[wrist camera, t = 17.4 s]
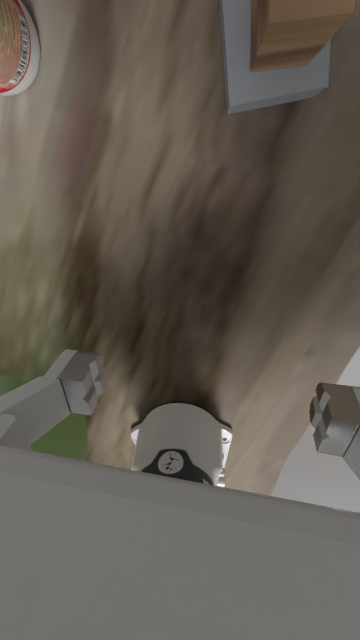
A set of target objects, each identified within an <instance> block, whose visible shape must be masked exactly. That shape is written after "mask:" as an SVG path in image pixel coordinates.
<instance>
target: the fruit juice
mask: <svg viewBox="0 0 360 640" xmlns="http://www.w3.org/2000/svg"><path fill="white" fill-rule="evenodd" d="M39 64H40V44H39V38H38V34H37V30H36V27H35V25H34V22H33V20H32V18H31V16H30V14H29V12H28V10H27V9H26V7H25V6H24V4H23V3H22V2H21V0H0V96H13V95H17V94H20V93H22V92H23V91H25V90H26V89H27V88H28V87H29V86H30V85H31V84H32V82H33V81H34V79H35V77H36V75H37V72H38V69H39Z"/></svg>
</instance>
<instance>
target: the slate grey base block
mask: <svg viewBox="0 0 360 640" xmlns="http://www.w3.org/2000/svg"><path fill="white" fill-rule="evenodd" d="M251 6H252V0H219V11H220V25H221V39H222V53H223V67H224V81H225V95H226V109H227V115H228V114H233V113H238V112H243V111H248V110H253V109H258V108H263V107H268V106H273V105H278V104H283V103H288V102H293V101H298V100H304V99H309V98H313V97H314V96H316V95H317V94H318V93H320V92H321V91H323V90H324V89H325V88H327V87H328V86H329V67H330V47H331V39H330V40H329V41H328V42H327V44H326V45H325V46H324V47H323V48H322V49H321V50H320V51H319V52H318V54H317V55H316V56H315V57H314V58H313V59H312V60H311V61H310V62H309V64H308V65H307V66H301V67H292V68H283V69H275V70H266V71H257V72H250V44H251Z"/></svg>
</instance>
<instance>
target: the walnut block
mask: <svg viewBox="0 0 360 640" xmlns="http://www.w3.org/2000/svg"><path fill="white" fill-rule="evenodd" d="M355 3H356V0H252V6H251V44H250V72H257V71H266V70H275V69H283V68H292V67H301V66H307V65H308V64H309V62H310V61H311V60H312V59H313V58H314V57H315V56H316V55H317V54H318V52H319V51H320V50H321V49H322V48H323V47H324V46H325V45H326V44H327V42H328V41H329V40H330V39H331V38H332V37H333V36H334V35H335V34H336V32H337V31H338V30H339V29H340V28H341V27H342V26H343V25H344V24H345V22H346V21H347V20H348V19H349V18H350V17H351V16H352V15H353V14H354V11H355Z"/></svg>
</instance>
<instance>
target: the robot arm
mask: <svg viewBox="0 0 360 640" xmlns="http://www.w3.org/2000/svg"><path fill="white" fill-rule="evenodd" d="M104 363H105V359H104V356H103V355H102V354H96V353H90V352H83V351H75V350H69V349H67V350H65V351H63V353H62V354H61V355H60V356H59V358H58V359H57V360H56V361H55V363H54V364H53V365H52V366H51V368H50V369H49V370H48V371H47V373H46V374H45V375H44V377H38V378H36V379H34V380H32V381H30V382H28V383H26V384H24V385H22V386H20V387H18V388H16V389H14V390H12V391H10V392H9V393H6V394H4V395H2V396H0V640H360V513H357V512H352V511H347V510H342V509H336V508H331V507H326V506H320V505H315V504H309V503H304V502H299V501H294V500H288V499H283V498H278V497H273V496H267V495H262V494H257V493H251V492H246V491H241V490H235V489H230V488H225V487H224V486H225V474H224V473H225V470H224V468H225V464H226V460H227V456H228V452H229V448H230V444H231V440H232V433H233V432H232V429H231V428H229V427H227V426H225V425H223V424H221V423H219V422H218V421H217V420H216V419H215V418H214V417H213V416H212V415H211V414H209V413H208V412H207V411H205V410H203V409H202V408H199V407H197V406H194V405H191V404H185V403H170V404H165V405H162V406H159V407H157V408H155V409H154V410H152V411H151V412H150V413H149V414H148V415H147V416H146V418H145V419H144V421H143V422H142V423H141V424H139V425H137V426H135V427H134V428H133V429H132V430H131V438H132V440H133V442H134V444H135V451H134V456H133V461H132V470H129V469H124V468H119V467H113V466H108V465H103V464H97V463H92V462H87V461H81V460H76V459H70V458H65V457H60V456H55V455H49V454H44V453H39V452H34V451H32V450H31V448H30V446H29V445H31V444H32V443H33V442H34V441H36V440H37V439H38V438H40V437H41V436H42V435H44V434H45V433H46V432H48V431H49V430H50V429H51V428H53V427H54V426H55V425H57V424H58V423H59V422H60V421H62V420H63V419H64V418H66V417H67V416H68V415H69V414H70V413H78V414H85V415H91V414H92V412H93V411H94V409H95V407H96V405H97V403H98V399H97V396H99V395H100V394H102V393H103V392H104V389H105V387H106V384H107V370H106V369H105V368H104V367H103V365H104ZM316 394H317V396H316V397H314V398H312V401H311V404H310V421H311V425H312V426H313V427H314V428H315V429H316V430H315V432H314V435H313V436H314V441H315V445H316V450H317V452H319V453H324V454H329V455H335V456H340V457H343V459H344V460H345V461H346V463H347V464H348V465H349V467H350V468H351V469H352V470H353V472H354V473H355V474H356V476H357V477H358V478H359V479H360V387H354V386H346V385H337V384H329V383H321V382H320V383H319V384H318V385H317V388H316Z"/></svg>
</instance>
